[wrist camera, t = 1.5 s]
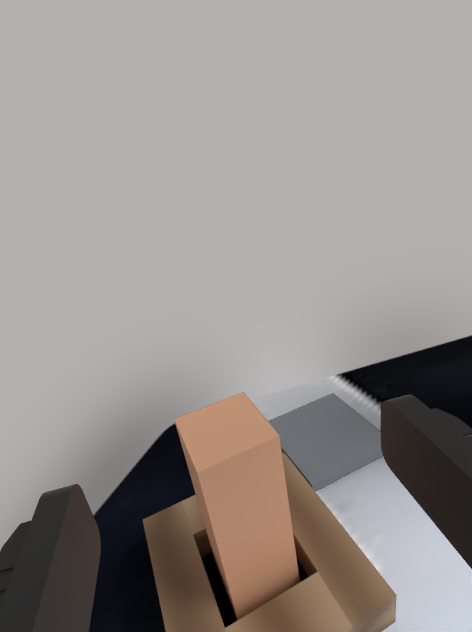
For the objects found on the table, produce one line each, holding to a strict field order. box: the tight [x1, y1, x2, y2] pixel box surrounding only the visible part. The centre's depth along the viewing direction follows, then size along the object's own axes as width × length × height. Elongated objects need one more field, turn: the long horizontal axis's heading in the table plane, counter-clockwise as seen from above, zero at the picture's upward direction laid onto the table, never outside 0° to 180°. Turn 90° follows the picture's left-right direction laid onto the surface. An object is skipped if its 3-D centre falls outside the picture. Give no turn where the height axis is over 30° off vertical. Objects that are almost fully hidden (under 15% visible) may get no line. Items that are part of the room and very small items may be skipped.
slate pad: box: [268, 393, 383, 491], centre depth 39 cm, size 10×10×1 cm
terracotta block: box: [174, 392, 300, 621], centre depth 25 cm, size 5×5×15 cm
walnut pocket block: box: [143, 453, 396, 632], centre depth 27 cm, size 14×14×3 cm
